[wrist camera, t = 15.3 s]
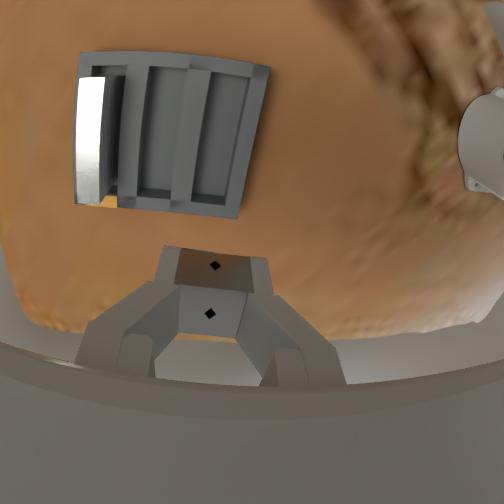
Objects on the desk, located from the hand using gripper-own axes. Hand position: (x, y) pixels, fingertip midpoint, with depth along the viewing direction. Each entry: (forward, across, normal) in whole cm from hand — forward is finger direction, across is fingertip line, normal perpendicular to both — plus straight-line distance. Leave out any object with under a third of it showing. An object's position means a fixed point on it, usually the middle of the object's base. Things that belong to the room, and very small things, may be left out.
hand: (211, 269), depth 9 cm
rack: (+26, +6, +2) cm, 27 cm away
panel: (+25, +12, +2) cm, 28 cm away
